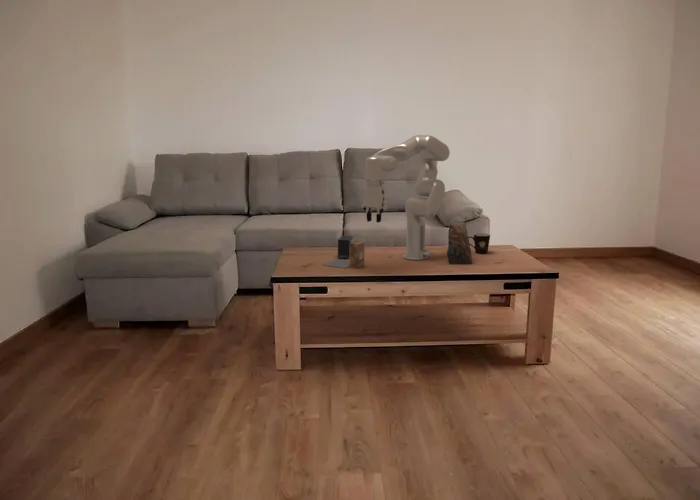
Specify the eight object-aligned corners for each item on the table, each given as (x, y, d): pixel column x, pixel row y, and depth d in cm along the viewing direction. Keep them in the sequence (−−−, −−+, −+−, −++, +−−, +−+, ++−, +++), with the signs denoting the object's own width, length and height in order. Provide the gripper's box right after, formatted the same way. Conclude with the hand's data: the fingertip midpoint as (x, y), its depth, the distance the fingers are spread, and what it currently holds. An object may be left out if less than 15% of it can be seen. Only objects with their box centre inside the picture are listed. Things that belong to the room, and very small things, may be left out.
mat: (358, 262, 296) (358, 262, 296) (344, 268, 285) (344, 267, 285) (336, 260, 303) (336, 259, 303) (322, 265, 292) (322, 264, 292)
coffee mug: (491, 252, 317) (492, 233, 315) (486, 255, 310) (487, 236, 308) (471, 249, 323) (471, 231, 321) (465, 252, 316) (466, 234, 314)
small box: (349, 259, 304) (349, 239, 301) (337, 259, 305) (337, 239, 303) (353, 254, 314) (353, 235, 312) (341, 254, 315) (341, 235, 313)
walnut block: (364, 265, 290) (364, 242, 288) (358, 268, 285) (358, 244, 283) (355, 264, 293) (355, 241, 290) (349, 267, 288) (349, 243, 285)
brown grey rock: (447, 264, 291) (448, 225, 287) (443, 258, 303) (444, 220, 299) (472, 264, 291) (474, 224, 287) (467, 258, 303) (469, 220, 299)
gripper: (393, 183, 274) (393, 221, 278) (362, 181, 283) (362, 219, 287) (386, 185, 268) (386, 224, 272) (354, 183, 276) (354, 221, 280)
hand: (373, 221), depth 279 cm, fingers open, 4 cm apart
